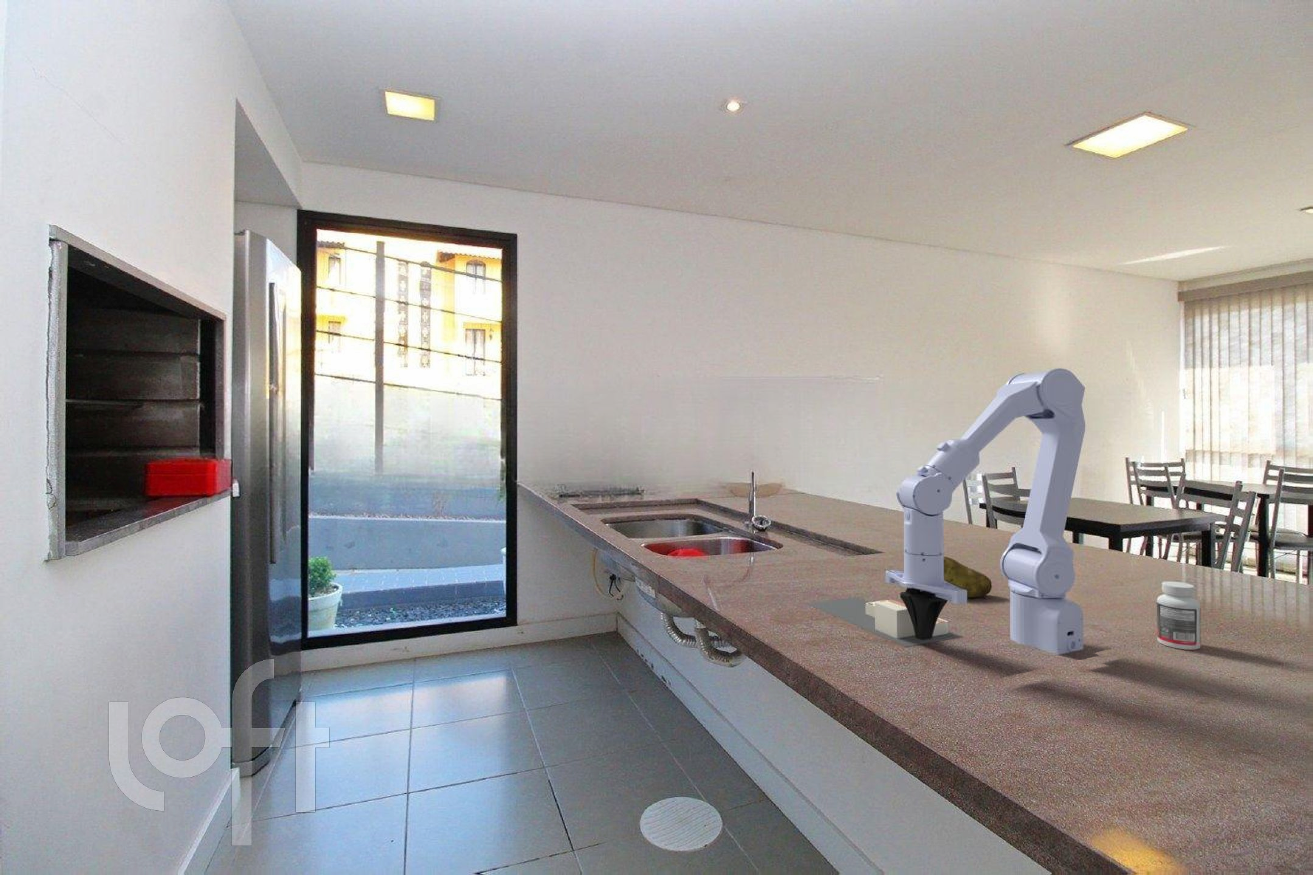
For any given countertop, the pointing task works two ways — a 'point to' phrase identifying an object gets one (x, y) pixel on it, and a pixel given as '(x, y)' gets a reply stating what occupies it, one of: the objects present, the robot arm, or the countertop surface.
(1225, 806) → the countertop surface
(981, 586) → the potato
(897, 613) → the stub
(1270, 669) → the countertop surface
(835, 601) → the mat
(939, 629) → the cream striped bar
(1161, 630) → the pill bottle
